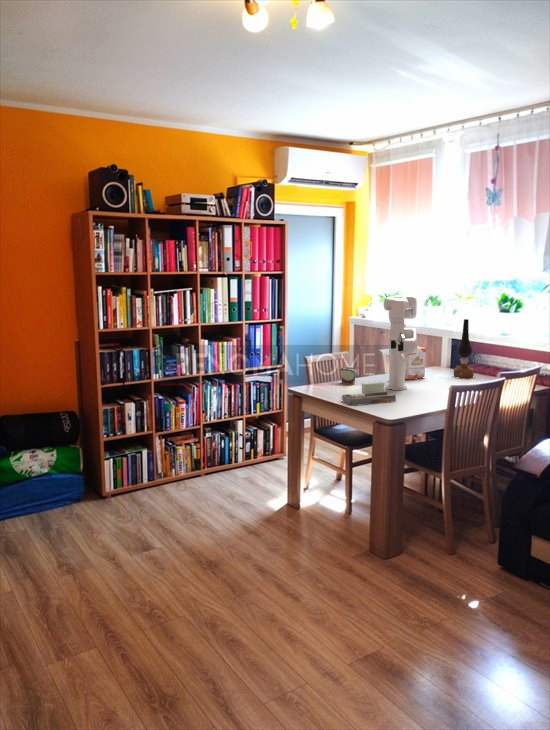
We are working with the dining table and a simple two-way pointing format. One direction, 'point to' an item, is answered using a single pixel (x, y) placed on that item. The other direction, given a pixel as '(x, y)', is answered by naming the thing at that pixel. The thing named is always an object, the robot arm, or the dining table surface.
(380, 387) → the bar
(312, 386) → the dining table surface
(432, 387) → the dining table surface
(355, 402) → the tray
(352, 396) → the chip
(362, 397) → the chip
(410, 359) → the cracker box
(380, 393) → the groove board
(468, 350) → the oil lamp
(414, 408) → the dining table surface
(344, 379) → the food container
